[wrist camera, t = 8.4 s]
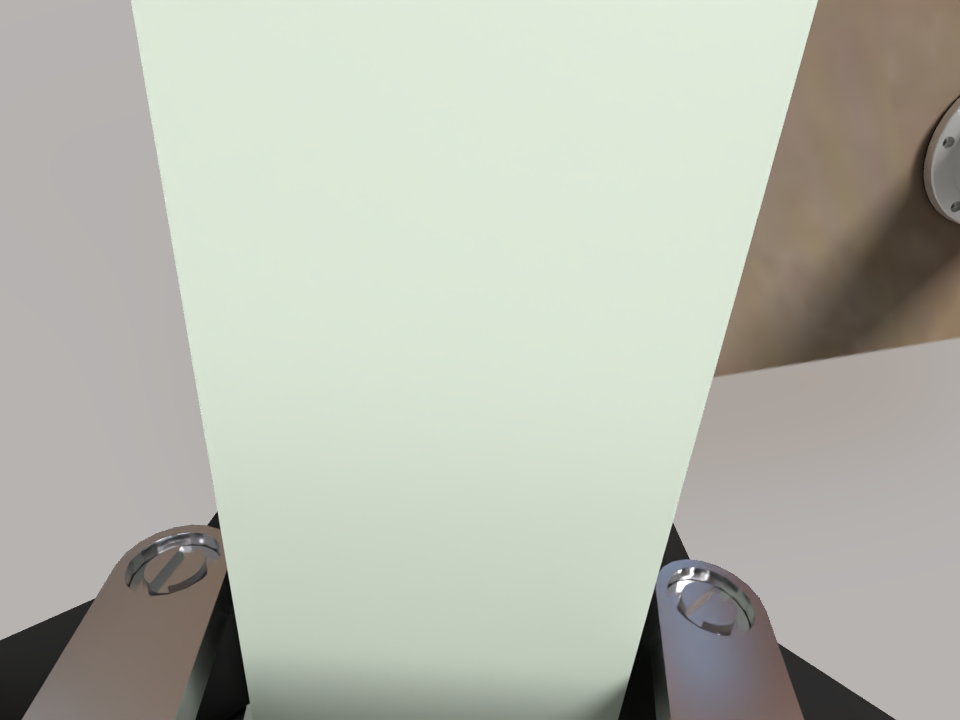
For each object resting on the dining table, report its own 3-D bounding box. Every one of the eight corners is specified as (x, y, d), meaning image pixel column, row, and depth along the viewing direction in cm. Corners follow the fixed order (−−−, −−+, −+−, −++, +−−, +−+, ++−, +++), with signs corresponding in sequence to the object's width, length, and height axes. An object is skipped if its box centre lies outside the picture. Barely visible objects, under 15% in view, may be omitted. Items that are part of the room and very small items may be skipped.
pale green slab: (542, 81, 21) (893, -278, 3) (506, 425, 27) (533, 1024, 9) (442, 73, 21) (71, -345, 3) (430, 419, 27) (301, 1009, 9)
